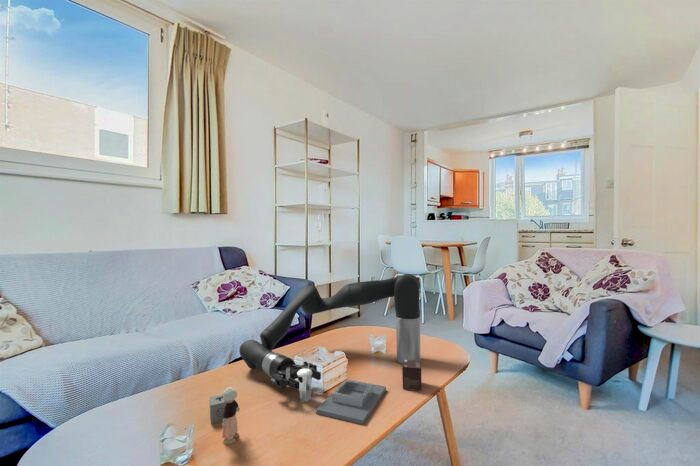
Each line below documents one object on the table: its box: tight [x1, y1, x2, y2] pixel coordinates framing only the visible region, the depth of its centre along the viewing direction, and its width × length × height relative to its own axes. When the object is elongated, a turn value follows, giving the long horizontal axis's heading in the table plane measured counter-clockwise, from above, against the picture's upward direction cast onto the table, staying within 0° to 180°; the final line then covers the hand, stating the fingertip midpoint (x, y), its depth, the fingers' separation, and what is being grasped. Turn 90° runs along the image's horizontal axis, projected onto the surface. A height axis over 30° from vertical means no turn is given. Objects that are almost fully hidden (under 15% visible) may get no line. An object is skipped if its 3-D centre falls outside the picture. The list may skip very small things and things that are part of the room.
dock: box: [315, 379, 387, 426], centre depth 99 cm, size 20×14×4 cm
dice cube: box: [209, 393, 227, 425], centre depth 92 cm, size 5×5×5 cm
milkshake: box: [297, 362, 313, 403], centre depth 101 cm, size 5×5×10 cm
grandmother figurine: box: [221, 386, 241, 445], centre depth 81 cm, size 8×4×13 cm, turn 5°
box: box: [401, 360, 423, 391], centre depth 108 cm, size 6×6×7 cm
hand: (309, 381), depth 99 cm, fingers open, 8 cm apart
